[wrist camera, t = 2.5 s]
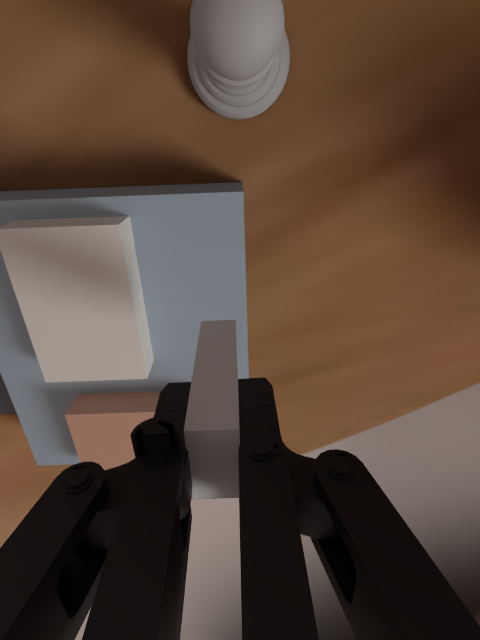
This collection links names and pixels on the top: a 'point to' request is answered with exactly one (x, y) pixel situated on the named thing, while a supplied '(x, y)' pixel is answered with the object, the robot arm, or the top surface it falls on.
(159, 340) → the pale blue flat slab
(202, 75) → the chess piece
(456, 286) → the top surface
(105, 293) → the beige rectangular block
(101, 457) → the terracotta card
